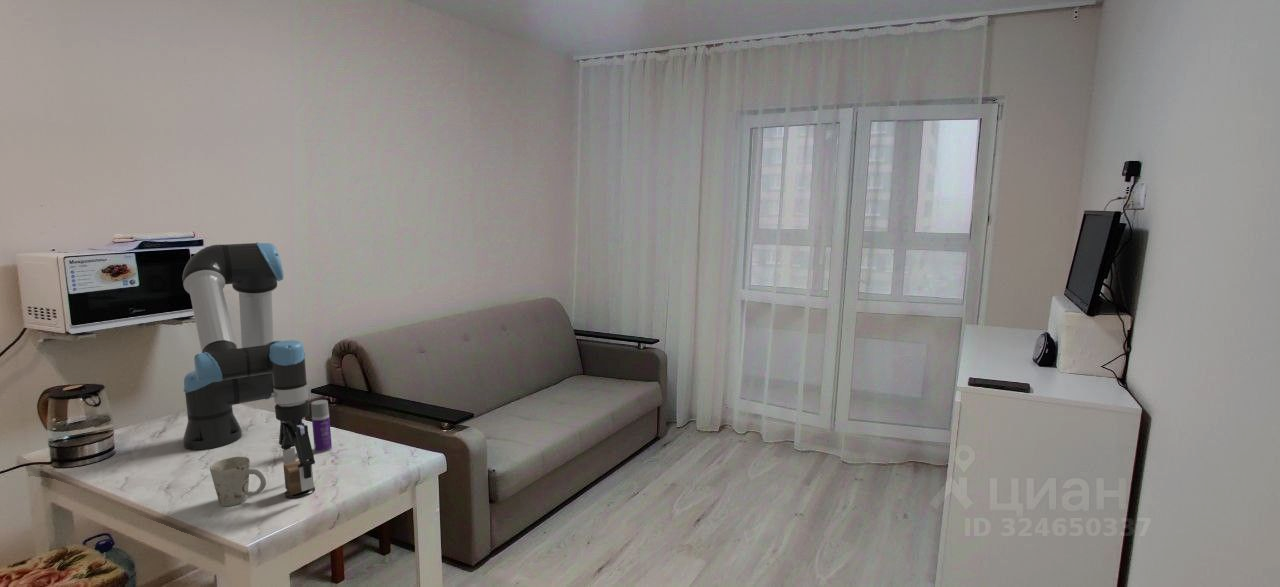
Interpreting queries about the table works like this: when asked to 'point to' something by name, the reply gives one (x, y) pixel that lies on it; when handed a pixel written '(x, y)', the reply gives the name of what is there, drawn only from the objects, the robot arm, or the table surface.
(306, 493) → the post
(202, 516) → the table surface
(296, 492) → the brown shipping carton
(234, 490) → the mug
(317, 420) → the container
